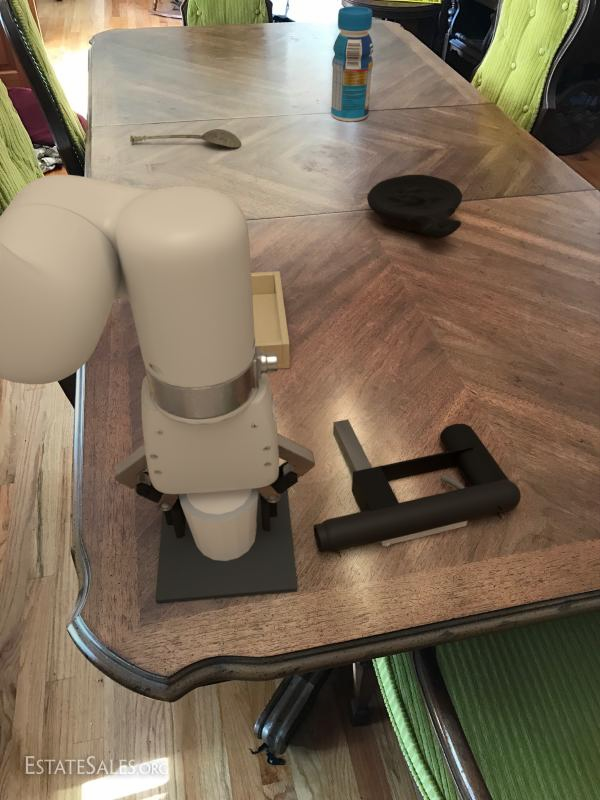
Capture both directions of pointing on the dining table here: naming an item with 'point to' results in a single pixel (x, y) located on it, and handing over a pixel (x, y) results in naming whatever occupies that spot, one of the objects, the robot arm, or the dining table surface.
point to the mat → (228, 564)
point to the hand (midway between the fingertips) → (223, 520)
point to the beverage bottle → (352, 64)
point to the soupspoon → (201, 137)
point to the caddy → (270, 316)
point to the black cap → (417, 204)
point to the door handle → (422, 515)
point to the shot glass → (222, 521)
